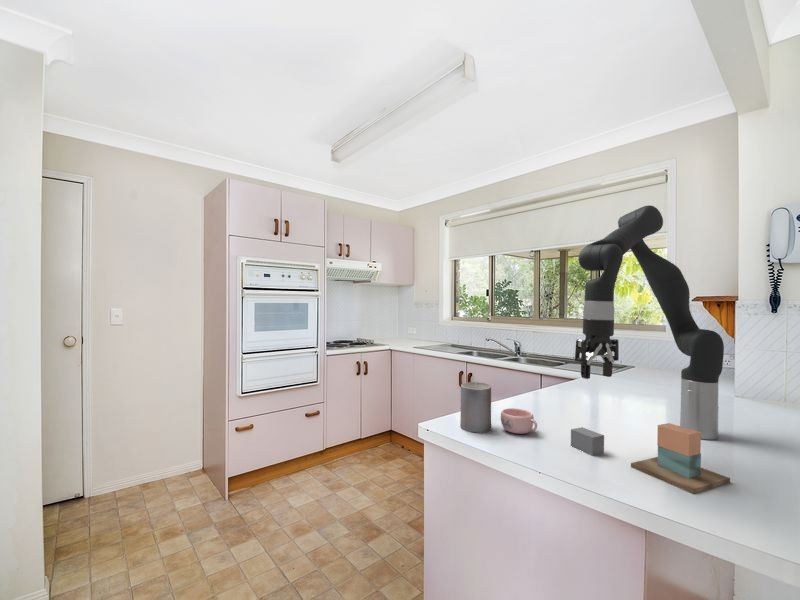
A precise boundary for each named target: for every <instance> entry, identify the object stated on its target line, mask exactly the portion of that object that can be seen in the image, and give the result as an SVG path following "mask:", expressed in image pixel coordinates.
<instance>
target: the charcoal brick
mask: <svg viewBox="0 0 800 600" xmlns="http://www.w3.org/2000/svg"><path fill="white" fill-rule="evenodd" d="M571 446H572V447H571ZM570 447H571V448H573V447H574V449H575V448H576V450H578V451H580V450H581V451H580V452H582V451H583V453H584V454H586V455H589V456H592V457H594V456H599V455H602V454H603V453H604V454H605V435H604V434H601V433H599V432H597V431H593V430H590V429H588V428H586V427H577V428H571V429H570ZM598 454H599V455H598ZM604 454H603V455H604Z"/></svg>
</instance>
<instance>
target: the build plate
mask: <svg viewBox="0 0 800 600" xmlns="http://www.w3.org/2000/svg"><path fill="white" fill-rule="evenodd" d="M630 468H631V469H632V468H633V469H635V470H637V471H640V472H641V473H644V474H646V475H648V476H651V477H653V478H656V479H658V480H661V481H663V482H665V483H668V484H669V485H672V486H674V487H677V488H679V489H681V490H683V491H686V492H688V493H690V494H693V495H694V494H698V493H700V492H703V491H707V490H710V489H712V488H713V489H714V488H718V487H720V486H723V485H727V484H729V483H728V482H730V483H731V477H727V476H726V475H722V474H720V473H718V472H715V471H712V470H709V469H708V468H704V467H702V453H701V452H700V454H697V455H693V456H686V455H683V454H680V453H677V452H675V451H672V450H669V449H666V448H663V447H660V446H658V445H657V456H655V457H651V458H647V459H643V460H638V461H637V460H636V461H633V462H630ZM726 483H727V484H726Z"/></svg>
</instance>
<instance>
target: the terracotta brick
mask: <svg viewBox="0 0 800 600" xmlns="http://www.w3.org/2000/svg"><path fill="white" fill-rule="evenodd" d="M656 441H657V443H656V445H657V447H658V446H660V447H663V448H666V449H669V450H672V451H675V452H677V453H680V454H683V455H686V456H693V455H697V454H700V453H701V443H702V442H701V432H698V431H695V430H691V429H688V428H684V427H681V426H680V425H677V424H673V423H671V422H668V423H663V424H657V440H656Z"/></svg>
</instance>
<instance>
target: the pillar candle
mask: <svg viewBox="0 0 800 600" xmlns="http://www.w3.org/2000/svg"><path fill="white" fill-rule="evenodd" d="M459 422H460V425H459V427H460V428H461V430H463V431H466V432H469V433H477V434H478V433H479V434H482V433H483V434H484V433H488V432H490V431H491V429H492V385H490V384H489V383H485V382H478V381H473V382H472V381H468V382H463V383H461V385H460V421H459Z"/></svg>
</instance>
